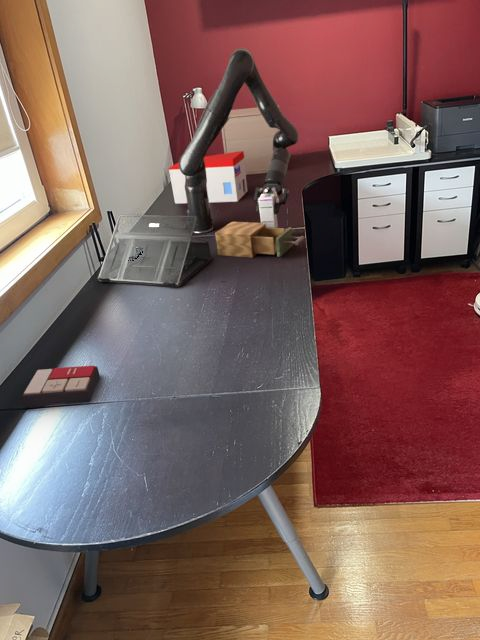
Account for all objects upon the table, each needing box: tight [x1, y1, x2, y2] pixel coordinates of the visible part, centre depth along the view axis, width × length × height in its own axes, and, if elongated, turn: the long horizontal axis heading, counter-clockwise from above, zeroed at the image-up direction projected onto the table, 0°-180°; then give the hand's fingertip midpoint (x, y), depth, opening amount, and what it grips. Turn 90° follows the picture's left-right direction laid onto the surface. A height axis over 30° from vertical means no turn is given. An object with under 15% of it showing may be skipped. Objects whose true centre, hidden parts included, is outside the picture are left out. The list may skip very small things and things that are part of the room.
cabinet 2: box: [214, 221, 266, 259], centre depth 195 cm, size 15×14×9 cm
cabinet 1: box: [221, 104, 280, 176], centre depth 317 cm, size 35×29×34 cm
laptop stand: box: [96, 214, 212, 288], centre depth 182 cm, size 33×28×18 cm
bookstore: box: [168, 151, 248, 205], centre depth 268 cm, size 21×35×21 cm, turn 77°
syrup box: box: [258, 193, 279, 228], centre depth 199 cm, size 6×6×14 cm
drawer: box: [251, 226, 305, 258], centre depth 189 cm, size 20×13×7 cm, turn 65°
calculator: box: [21, 365, 100, 409], centre depth 122 cm, size 11×4×15 cm
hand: (266, 212), depth 198 cm, fingers closed on syrup box, 6 cm apart
